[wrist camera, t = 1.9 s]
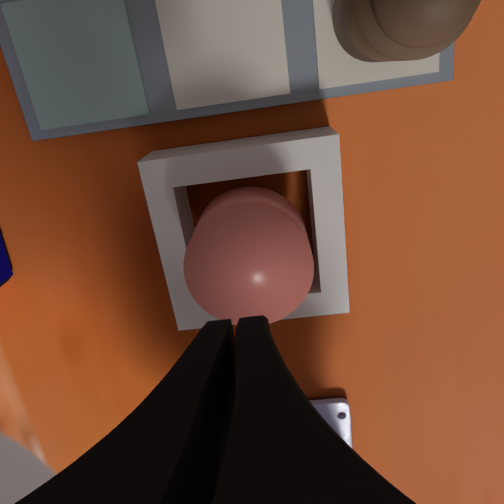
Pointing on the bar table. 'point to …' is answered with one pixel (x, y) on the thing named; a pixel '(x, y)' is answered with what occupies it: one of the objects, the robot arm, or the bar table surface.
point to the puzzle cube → (4, 265)
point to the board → (182, 60)
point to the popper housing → (243, 166)
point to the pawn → (399, 27)
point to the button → (249, 256)
